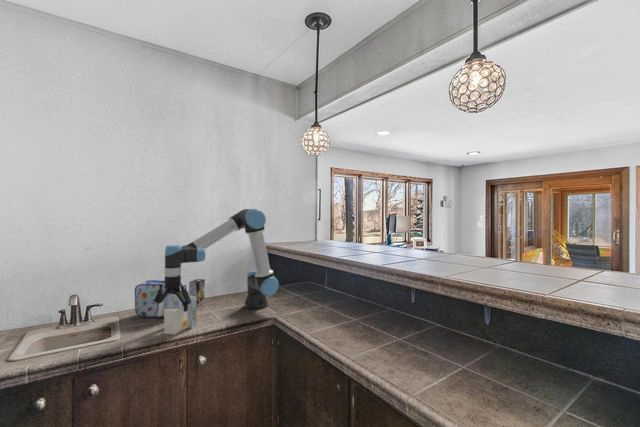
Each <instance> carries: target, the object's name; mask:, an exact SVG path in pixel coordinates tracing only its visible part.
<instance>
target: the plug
mask: <svg viewBox="0 0 640 427" xmlns="http://www.w3.org/2000/svg"><path fill="white" fill-rule="evenodd" d="M198 320H199V313H196V322H197V321H198ZM163 323H164V324H163V331H164V332H163V333H164V334H166V335H176V334H178V333H180V332H181V331H183V329H184V328H187V315H186V317H185V318H183V319H182V307H174V306H172V307H170V308H168V309H165V310H164V317H163Z"/></svg>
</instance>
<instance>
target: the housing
mask: <svg viewBox="0 0 640 427" xmlns="http://www.w3.org/2000/svg"><path fill="white" fill-rule="evenodd" d="M188 295H189V294H188ZM189 297H190V300H191V303H190V304H188V310H187V311H186V316H187V326H186V329H188V330H192V329H194V328H196V327H197V321H196V314H197V307H196V296H192V295H189ZM179 302H181V301H180V299H179V298H178V297H177V295H175V294H173V295H171V296H169V308H170V307H172V306H174V307H179Z"/></svg>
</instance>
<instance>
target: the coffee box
mask: <svg viewBox="0 0 640 427" xmlns="http://www.w3.org/2000/svg"><path fill="white" fill-rule="evenodd" d="M205 281H206V279H204V278H197V279H193V280H191V281H189V282H188V286H189V287H188V295H192V296H196V308H197V307H199V306H201V305H203V304H205V303H206V300H205V298H206V297H205V295H206V294H205V293H206V292H205V290H206V282H205Z"/></svg>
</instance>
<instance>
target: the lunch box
mask: <svg viewBox="0 0 640 427" xmlns="http://www.w3.org/2000/svg"><path fill="white" fill-rule="evenodd" d="M161 284H165V280H157V279H156V280H154V279H153V280H151V279H149V280H145V281H143V282H141V283H140V284H139V283H138V284H136V286H135V287H134V310H135V314H136V315H137V316H139V317H144V318H145V317H146V318H154V319H155V318H164V315H162V316H158V313H159V309H158V303H157V302H154V299H155V297H156V295H157V293H158V290H159V287H160V285H161ZM180 285H181V286H183V283H182V281H181V282H180ZM165 290H166V289H165V288H164V291H165ZM164 291H163V293H164ZM163 293H162V295H163ZM162 295H161V296H162ZM171 295H173V294H168V295H167V296H166V297H165V299H164V300H163V302H164V310H165V309H168V308H169V296H171ZM182 305H183V304H182V302H179V307H182Z"/></svg>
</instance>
